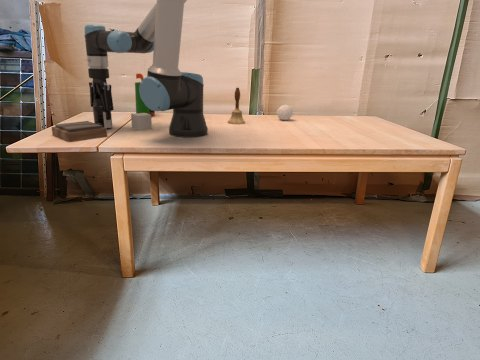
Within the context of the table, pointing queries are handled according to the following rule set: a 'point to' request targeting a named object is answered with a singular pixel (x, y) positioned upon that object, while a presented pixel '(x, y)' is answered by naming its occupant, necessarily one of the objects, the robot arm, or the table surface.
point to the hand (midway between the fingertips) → (103, 126)
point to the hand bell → (236, 111)
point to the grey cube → (141, 121)
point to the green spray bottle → (139, 103)
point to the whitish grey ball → (285, 112)
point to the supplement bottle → (99, 112)
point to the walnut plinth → (79, 131)
